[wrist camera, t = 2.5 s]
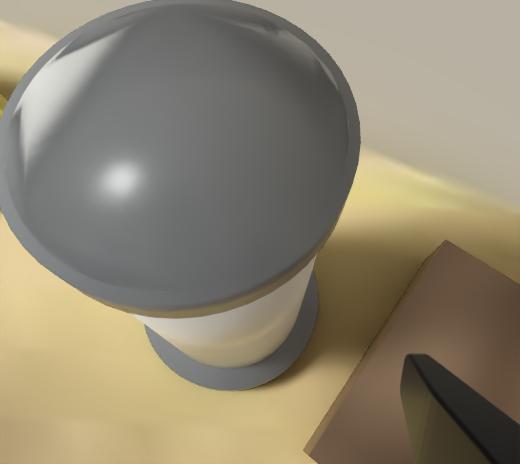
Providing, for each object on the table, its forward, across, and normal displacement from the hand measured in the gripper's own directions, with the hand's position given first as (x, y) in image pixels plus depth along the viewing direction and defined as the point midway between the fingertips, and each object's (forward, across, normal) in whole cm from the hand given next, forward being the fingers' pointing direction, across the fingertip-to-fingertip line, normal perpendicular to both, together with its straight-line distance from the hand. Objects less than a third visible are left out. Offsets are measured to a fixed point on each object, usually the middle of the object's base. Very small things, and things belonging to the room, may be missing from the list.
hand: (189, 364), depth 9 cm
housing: (+10, 0, +4) cm, 11 cm away
